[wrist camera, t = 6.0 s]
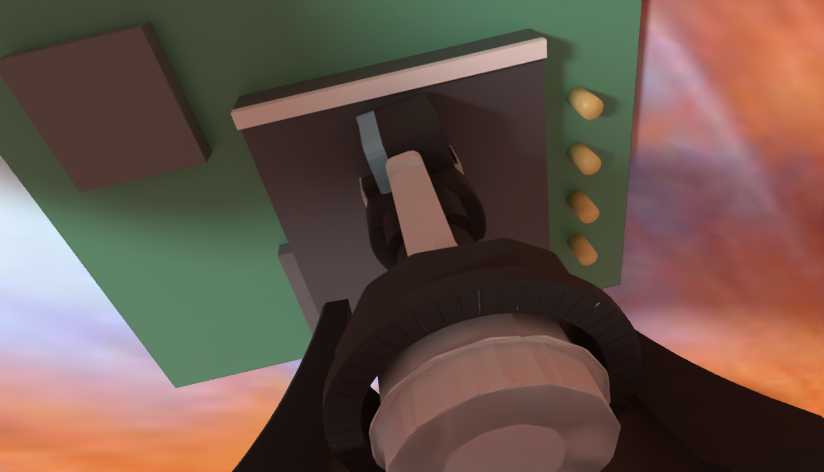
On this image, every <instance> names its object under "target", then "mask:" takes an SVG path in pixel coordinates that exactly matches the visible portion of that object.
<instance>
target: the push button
mask: <svg viewBox="0 0 824 472" xmlns="http://www.w3.org/2000/svg"><path fill="white" fill-rule="evenodd" d="M356 118H357V123H358V125H359V129H360V135H361V141H362V146H363V150H364V153H365V155H366V158H367V161H368V163H369V165H370V168H371V170H372V173H373V174H371V175H369V176H366V177H363V178H362V177H361V178H359V180H360V187H361V194H362V196H363V197H362V199H363V201H364V203H365V206H366V219H367V226H368V234H369V240H370V245H371V248H372V251H373V253H374V255H375V256H376V258H377V259H378V261H379V262H380V263H381V264H382V265H383V266H384V267H385V268H386V269H387V270H388V271H386V272H385V273H384V274H382V275H381V276H379V277H378V278H376V279H375V280H373V281H372V282H370V283H369V284H368V285H367V286H366V288H365V289H364V291H363V293H362V295H361V297H360V299H359V301H358V304H357V306H356V308H355V310H354V312H353V314H352V316H351V318H350V320H349V322H348V324H347V326H346V328H345V331H344V333H343V335H342V337H341V339H340V341H339V343H338V345H337V347H336V350H335V359H334V361H333V363H332V365H331V367H330V369H329V372H328V375H327V378H326V381H325V385H324V392H323V427H324V432H325V437H326V439H327V442H328V445H329V447H330V448H331V450H332V452H333V454H334V455H335V456H336V458H337V459H338V460H339V461H340V463H341V464H342V465H343V466H345V467H346V468H347V469H348V470H349V471H350V472H600V471H601V470H602V469H603V468H604V467H605V466H606V465H607V464H608V463H609V462H610V460H611V459H612V458H613V455H614V451H615V448H616V444H617V440H618V436H619V432H620V428H621V425H620V424H619V422H618V420H617V419H618V418H619V417H620V415H621V414H622V413H623V411H624V410H625V408H626V407H627V405H628V404H629V402H630V400H631V398H632V397H633V394H634V392H635V390H636V387H637V385H638V381H639V378H640V374H641V367H642V351H641V346H640V341H639V339H638V336H637V333H636V331H635V329H634V328H633V326H632V324H631V322H630V321H629V320H628V318H627V317H626V316H625V314H624V313H623V312H622V310H621V309H620V308H619V306H618V305H617V304H616V303H615V302H614V301H613V299H612V298H611V297H610V296H608V295H607V294H606V293H605V292H604V291H603V290H601V289H600V288H598V287H597V286H595V285H593V284H592V283H590V282H588V281H586V280H584V279H582V278H580V277H577V276H575V275H572V274H570V273H569V272H568V270H567V269H566V267H565V266H564V264H563V263H562V262H561V260H560V259H559V257H558V256H557V255H556V254H555V253H553V252H552V251H549V250H546V249H543V248H540V247H537V246H533V245H530V244H527V243H524V242H521V241H517V240H514V239H511V238H499V239H493V240H488V241H482V242H479V241H480V240H482V239H483V238H484V237H485V234H486V215H485V211H484V208H483V206H482V203H481V202H480V200H479V198H478V196H477V194H476V192H475V191H474V189H473V187H472V185H471V184H470V182H469V180H468V179H467V178H466V177H465V176H464V173H463V170H462V167H461V163H460V161H459V159H458V157H457V155H456V154H455V152H454V150H453V148H452V146H451V145H448V142H447V139H446V135H445V132H444V129H443V126H442V123H441V121H440V118H439V116H438V115H437V113H436V111H435V109H434V108H433V106H432V104H431V102H430V101H429V99H428V97H427V95H426V94H425V92H421V93H418V94H416V95H413V96H410V97H407V98H405V99H402V100H399V101H397V102H394V103H391V104H389V105H386V106H383V107H381V108H378V109H375V110H373V111H370V112H368V113H365V114H362V115H360V116H357V117H356ZM558 318H559V319H562V320H565V321H567V322H569V329H568V332H566V331H565V329H564V327H563V326H562V324H561V322H560V320H559V319H558ZM377 375H378V383H379V392H380V395H379V394H378V393H377V392H376V391H375V390H373V389H372V388H371V387H370V386H371V384H372V382H373V381H374V380H375V378H376V377H377Z"/></svg>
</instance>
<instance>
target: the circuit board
mask: <svg viewBox="0 0 824 472" xmlns="http://www.w3.org/2000/svg"><path fill="white" fill-rule="evenodd" d="M641 4H642V0H0V155H1V156H2V157H3V159H4V160H5V161H6V163H7V164H8V165H9V167H10V168H11V169H12V171H13V172H14V173H15V175H16V176H17V177H18V179H19V180H20V181H21V183H22V184H23V185H24V187H25V188H26V189H27V191H28V192H29V193H30V195H31V196H32V197H33V199H34V200H35V201H36V203H37V204H38V205H39V207H40V208H41V209H42V211H43V212H44V213H45V215H46V216H47V217H48V219H49V220H50V221H51V223H52V224H53V225H54V227H55V228H56V229H57V231H58V232H59V233H60V235H61V236H62V237H63V239H64V240H65V241H66V243H67V244H68V245H69V247H70V248H71V249H72V251H73V252H74V253H75V255H76V256H77V257H78V259H79V260H80V261H81V263H82V264H83V265H84V267H85V268H86V269H87V271H88V272H89V273H90V275H91V276H92V277H93V279H94V280H95V281H96V283H97V284H98V285H99V287H100V288H101V289H102V291H103V292H104V293H105V295H106V296H107V297H108V299H109V300H110V301H111V303H112V304H113V305H114V307H115V308H116V309H117V311H118V312H119V313H120V315H121V316H122V317H123V319H124V320H125V321H126V323H127V324H128V325H129V327H130V328H131V329H132V331H133V332H134V333H135V335H136V336H137V337H138V339H139V340H140V341H141V343H142V344H143V345H144V347H145V348H146V349H147V351H148V352H149V353H150V355H151V356H152V357H153V359H154V360H155V361H156V363H157V364H158V365H159V367H160V368H161V369H162V371H163V372H164V373H165V375H166V376H167V377H168V379H169V380H170V381H171V383H172V384H173V385H174V387H175V388H178V387H182V386H187V385H191V384H195V383H199V382H204V381H208V380H212V379H217V378H221V377H225V376H230V375H234V374H238V373H242V372H247V371H251V370H255V369H260V368H264V367H268V366H272V365H277V364H281V363H285V362H290V361H294V360H298V359H303V357H304V355H305V353H306V350H307V348H308V346H309V344H310V341H311V339H312V336H313V334H314V331H315V329H316V326H317V323H318V320H319V314H318V312H317V309H316V307H315V305H314V302H313V300H312V298H311V295H310V293H309V290H308V288H307V286H306V283H305V281H304V279H303V276H302V274H301V271H300V269H299V267H298V264H297V262H296V260H295V257H294V255H293V252H292V250H291V248H290V245H289V243H288V241H287V238H286V236H285V233H284V231H283V229H282V226H281V224H280V222H279V219H278V217H277V215H276V212H275V210H274V207H273V205H272V203H271V200H270V198H269V196H268V193H267V191H266V188H265V186H264V184H263V181H262V179H261V177H260V174H259V172H258V169H257V167H256V165H255V162H254V160H253V158H252V155H251V153H250V150H249V148H248V146H247V143H246V141H245V139H244V136H243V134H242V131H241V129H240V130H237V128H236V125H235V123H234V121H233V118H232V116H231V114H230V113H231V112H232V110H233V108H234V106H235V104H236V102H237V100H238V98H239V96H243V95H247V94H251V93H255V92H260V91H264V90H268V89H273V88H277V87H281V86H285V85H290V84H294V83H298V82H302V81H307V80H311V79H315V78H319V77H324V76H328V75H332V74H336V73H341V72H345V71H349V70H354V69H358V68H362V67H366V66H371V65H375V64H379V63H383V62H388V61H392V60H396V59H400V58H405V57H409V56H413V55H417V54H422V53H426V52H430V51H435V50H439V49H443V48H447V47H452V46H456V45H460V44H464V43H469V42H473V41H477V40H481V39H486V38H490V37H494V36H498V35H503V34H507V33H511V32H516V31H520V30H524V29H528V28H529V29H531V30H532V31H534V32H535V33H537V34H539V35H540V36H542V37H543V38H545V39H546V41H547V58H543V62H544V91H545V121H546V151H547V181H548V210H549V240H550V251H552V252H553V253H555V254H556V255H557V256H558V257H559V259H560V260H561V262H562V263H563V264H564V266H565V267H566V269H567V270H568V272H569V273H570V274H572V275H575V276H577V277H580V278H582V279H584V280H586V281H588V282H590V283H592V284H593V285H595V286H597V287H598V288H600V289H603V288H607V287H612V286H616V285H620V281H621V267H622V254H623V241H624V228H625V215H626V202H627V188H628V175H629V162H630V149H631V136H632V122H633V109H634V96H635V83H636V70H637V57H638V43H639V30H640V17H641Z"/></svg>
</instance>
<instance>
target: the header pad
mask: <svg viewBox="0 0 824 472" xmlns="http://www.w3.org/2000/svg"><path fill="white" fill-rule="evenodd" d="M543 58H547V41H546V39H545V38H543V37H542V36H540V35H539V34H537V33H535V32H534V31H532V30H531V29H529V28H528V29H524V30H520V31H516V32H511V33H507V34H503V35H498V36H494V37H490V38H486V39H481V40H477V41H473V42H469V43H464V44H460V45H456V46H452V47H447V48H443V49H439V50H435V51H430V52H426V53H422V54H417V55H413V56H409V57H405V58H400V59H396V60H392V61H388V62H383V63H379V64H375V65H371V66H366V67H362V68H358V69H354V70H349V71H345V72H341V73H336V74H332V75H328V76H324V77H319V78H315V79H311V80H307V81H302V82H298V83H294V84H290V85H285V86H281V87H277V88H273V89H268V90H264V91H260V92H255V93H251V94H247V95H243V96H239V98H238V100H237V102H236V104H235V106H234V108H233V110H232V112H231V113H230V114H231V116H232V118H233V121H234V123H235V125H236V128H237V130H240V129H241V131H242V134H243V136H244V139H245V141H246V143H247V146H248V148H249V150H250V153H251V155H252V158H253V160H254V162H255V165H256V167H257V169H258V172H259V174H260V177H261V179H262V181H263V184H264V186H265V188H266V191H267V193H268V196H269V198H270V200H271V203H272V205H273V207H274V210H275V212H276V215H277V217H278V219H279V222H280V224H281V226H282V229H283V231H284V233H285V236H286V238H287V241H288V243H289V245H290V248H291V250H292V252H293V255H294V257H295V260H296V262H297V264H298V267H299V269H300V271H301V274H302V276H303V279H304V281H305V283H306V286H307V288H308V290H309V293H310V295H311V298H312V300H313V302H314V305H315V307H316V309H317V312H318V314H319V317H320V314H321V311H322V308H323V306H324V304H325V303H326V302H332V301H338V300H344V299H348V300H349V304H350V308H351V312H352V314H353V312H354V310H355V308H356V306H357V304H358V301H359V299H360V297H361V295H362V293H363V291H364V289H365V288H366V286H367V285H368V284H369V283H370V282H372V281H373V280H375V279H376V278H378V277H379V276H381V275H382V274H384V273H385V272H386V271H388V270H387V269H386V268H385V267H384V266H383V265H382V264H381V263H380V262H379V261H378V259H377V258H376V256H375V255H374V253H373V251H372V248H371V245H370V240H369V234H368V226H367V219H366V206H365V203H364V201H363V199H362V197H363V196H362V194H361V187H360V180H359V178H361V177H362V178H363V177H366V176H369V175H371V174H373V173H372V170H371V168H370V165H369V163H368V161H367V158H366V155H365V153H364V150H363V146H362V141H361V135H360V129H359V125H358V123H357V118H356V117H357V116H360V115H362V114H365V113H368V112H370V111H373V110H375V109H378V108H381V107H383V106H386V105H389V104H391V103H394V102H397V101H399V100H402V99H405V98H407V97H410V96H413V95H416V94H418V93H421V92H425V94H426V95H427V97H428V99H429V101H430V102H431V104H432V106H433V108H434V109H435V111H436V113H437V115H438V116H439V118H440V121H441V123H442V126H443V129H444V132H445V135H446V139H447V142H448V145H451V146H452V148H453V150H454V152H455V154H456V155H457V157H458V159H459V161H460V163H461V167H462V170H463V173H464V176H465V177H466V178H467V179H468V180H469V182H470V184H471V185H472V187H473V189H474V191H475V192H476V194H477V196H478V198H479V200H480V202H481V203H482V206H483V208H484V211H485V215H486V234H485V237H484V238H483V239H482V240H480V241H479V242H482V241H488V240H493V239H499V238H511V239H514V240H517V241H521V242H524V243H527V244H530V245H533V246H537V247H540V248H543V249H546V250H549V251H550V240H549V210H548V181H547V151H546V121H545V91H544V62H543Z"/></svg>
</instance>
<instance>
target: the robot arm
mask: <svg viewBox="0 0 824 472" xmlns="http://www.w3.org/2000/svg"><path fill="white" fill-rule="evenodd" d="M351 316H352V312H351V308H350V304H349V300H348V299H344V300H338V301H332V302H326V303H325V304H324V306H323V308H322V311H321V314H320V317H319V320H318V323H317V326H316V329H315V331H314V334H313V336H312V339H311V341H310V344H309V346H308V348H307V350H306V353H305V355H304V357H303V359H302V362H301V364H300V366H299V368H298V370H297V372H296V374H295V376H294V378H293V380H292V381H291V383H290V385H289V387H288V389H287V391H286V393H285V395H284V396H283V398H282V400H281V402H280V403H279V405H278V407H277V408H276V410H275V412H274V413H273V415H272V416H271V418H270V420H269V421H268V423H267V424H266V426H265V427H264V429H263V430H262V432H261V433H260V435H259V436H258V438H257V439H256V440H255V442H254V443H253V445H252V446H251V448H250V449H249V450H248V452H247V453H246V454H245V456H244V457H243V458H242V460H241V461H240V462H239V464H238V465H237V466H236V467H235V469H234V470H233V471H232V472H350V471H349V470H348V469H347V468H346V467H345V466H343V465H342V464H341V463H340V461H339V460H338V459H337V458H336V456H335V455H334V454H333V452H332V450H331V448H330V447H329V445H328V442H327V439H326V437H325V432H324V427H323V392H324V385H325V381H326V378H327V375H328V372H329V369H330V367H331V365H332V363H333V361H334V359H335V350H336V347H337V345H338V343H339V341H340V339H341V337H342V335H343V333H344V331H345V328H346V326H347V324H348V322H349V320H350V318H351ZM558 319H559V318H558ZM559 320H560V322H561V324H562V326H563V327H564V329H565V331H566V332H568V329H569V322H567V321H565V320H562V319H559ZM635 331H636V333H637V336H638V339H639V341H640V346H641V351H642V367H641V374H640V378H639V381H638V385H637V387H636V390H635V392H634V394H633V397H632V398H631V400H630V402H629V404H628V405H627V407H626V408H625V410H624V411H623V413H622V414H621V415H620V417H619V418H618V419H617V420H618V422H619V424H620V425H621V428H620V432H619V436H618V440H617V444H616V448H615V451H614V455H613V458H612V459H611V460H610V462H609V463H608V464H607V465H606V466H605V467H604V468H603V469H602V470H601V471H600V472H824V418H823V417H822V416H820V415H817V414H814V413H811V412H809V411H806V410H803V409H800V408H797V407H795V406H792V405H789V404H786V403H783V402H781V401H778V400H775V399H772V398H770V397H767V396H765V395H762V394H760V393H757V392H755V391H753V390H750V389H748V388H745V387H743V386H741V385H738V384H736V383H734V382H731V381H729V380H727V379H725V378H723V377H720V376H718V375H716V374H714V373H712V372H710V371H708V370H706V369H704V368H702V367H700V366H698V365H696V364H694V363H692V362H690V361H688V360H686V359H684V358H682V357H680V356H679V355H677V354H675V353H673V352H671V351H670V350H668V349H666V348H665V347H663V346H661V345H659V344H658V343H656V342H654V341H653V340H651V339H649V338H648V337H646V336H645V335H643V334H641V333H640V332H638V331H637V330H635Z"/></svg>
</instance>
